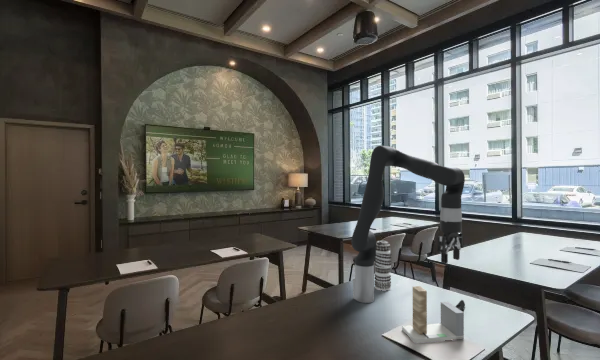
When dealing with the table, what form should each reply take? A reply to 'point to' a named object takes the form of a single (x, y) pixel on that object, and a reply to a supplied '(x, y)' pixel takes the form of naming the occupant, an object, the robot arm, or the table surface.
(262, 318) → the table surface
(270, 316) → the table surface
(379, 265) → the decorative candle
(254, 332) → the table surface
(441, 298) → the table surface
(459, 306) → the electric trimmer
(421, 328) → the tan rectangular box
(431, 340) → the base
